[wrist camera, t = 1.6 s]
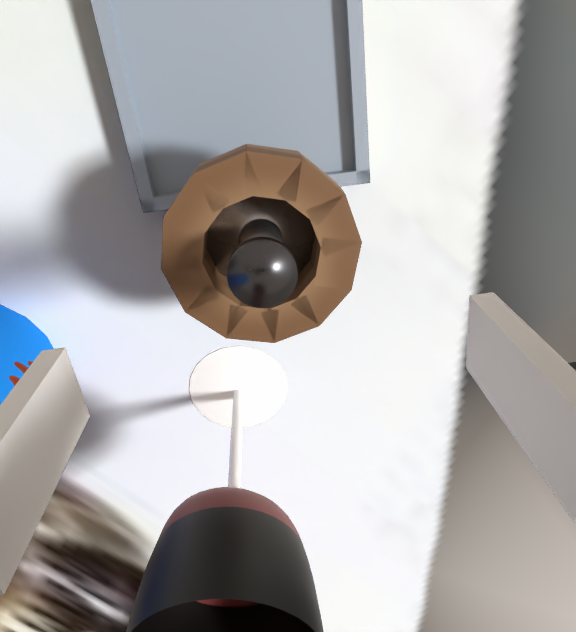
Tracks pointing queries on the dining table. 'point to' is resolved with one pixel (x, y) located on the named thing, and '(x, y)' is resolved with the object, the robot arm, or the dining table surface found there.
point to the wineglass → (230, 527)
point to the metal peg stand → (261, 249)
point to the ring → (269, 182)
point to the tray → (235, 84)
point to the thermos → (17, 348)
